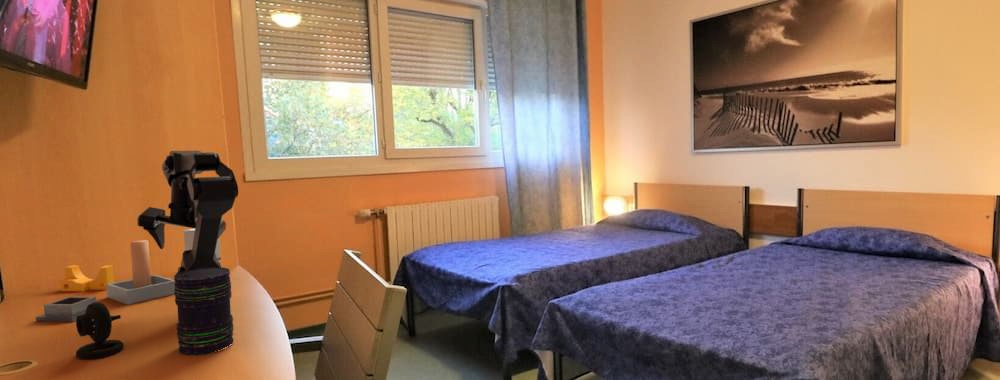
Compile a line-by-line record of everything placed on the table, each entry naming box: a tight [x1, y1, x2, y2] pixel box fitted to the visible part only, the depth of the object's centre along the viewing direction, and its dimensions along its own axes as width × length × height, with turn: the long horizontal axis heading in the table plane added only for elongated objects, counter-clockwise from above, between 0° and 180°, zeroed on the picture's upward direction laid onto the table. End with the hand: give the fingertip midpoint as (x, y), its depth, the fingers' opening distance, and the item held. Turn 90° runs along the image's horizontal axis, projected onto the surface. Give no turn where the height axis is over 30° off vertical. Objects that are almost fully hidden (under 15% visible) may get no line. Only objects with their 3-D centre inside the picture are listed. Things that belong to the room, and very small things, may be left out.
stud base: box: [35, 296, 97, 323], centre depth 126 cm, size 9×9×4 cm
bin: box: [106, 274, 175, 305], centre depth 142 cm, size 12×12×4 cm
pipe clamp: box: [59, 264, 116, 292], centre depth 149 cm, size 12×4×6 cm, turn 88°
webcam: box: [75, 301, 125, 360], centre depth 103 cm, size 8×8×10 cm
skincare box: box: [183, 228, 222, 266], centre depth 162 cm, size 8×6×15 cm
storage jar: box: [173, 266, 235, 357], centre depth 105 cm, size 10×10×15 cm
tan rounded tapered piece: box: [129, 239, 152, 289], centre depth 142 cm, size 4×4×14 cm
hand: (181, 251), depth 137 cm, fingers open, 9 cm apart
